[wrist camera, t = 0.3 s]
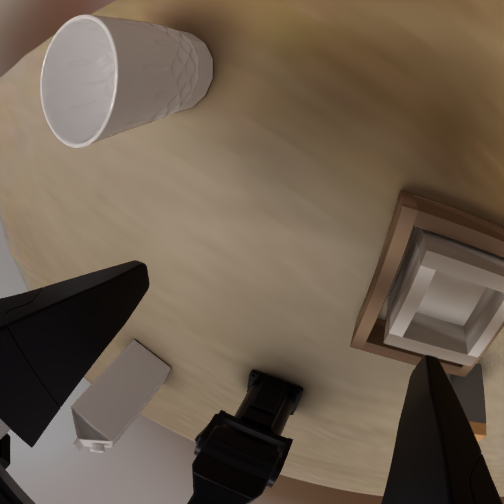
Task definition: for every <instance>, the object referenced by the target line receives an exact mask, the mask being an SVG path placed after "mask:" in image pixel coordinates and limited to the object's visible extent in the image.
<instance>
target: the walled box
mask: <svg viewBox="0 0 504 504" xmlns="http://www.w3.org/2000/svg"><path fill="white" fill-rule="evenodd" d="M413 226H415V227H416V228H415V231H414V234H413V237H412V239H411V242H410V245H409V248H408V251H407V253H406V256H405V259H404V261H403V264H402V266H401V269H400V272H399V274H398V277H397V279H396V281H395V284H394V286H393V289H392V291H391V293H390V296H389V298H388V306H387V317H386V321H383V320H379V319H377V317H378V315H379V313H380V310H381V308H382V306H383V304H384V301H385V299H386V297H387V294H388V292H389V289H390V287H391V285H392V282H393V280H394V277H395V275H396V272H397V270H398V267H399V264H400V262H401V259H402V256H403V254H404V251H405V248H406V245H407V243H408V240H409V237H410V234H411V231H412V228H413ZM503 326H504V227H502V226H499V225H497V224H495V223H492V222H490V221H487V220H485V219H482V218H480V217H477V216H474V215H472V214H469V213H466V212H464V211H461V210H458V209H455V208H453V207H450V206H447V205H444V204H441V203H438V202H435V201H432V200H429V199H426V198H423V197H420V196H417V195H414V194H411V193H408V192H405V191H400V194H399V198H398V202H397V205H396V209H395V212H394V216H393V219H392V222H391V226H390V229H389V232H388V235H387V238H386V241H385V245H384V248H383V251H382V254H381V257H380V259H379V262H378V265H377V268H376V271H375V274H374V277H373V279H372V282H371V285H370V287H369V290H368V293H367V295H366V298H365V300H364V303H363V306H362V308H361V311H360V313H359V316H358V318H357V320H356V324H355V328H354V332H353V337H352V341H351V345H350V347H353V348H357V349H360V350H364V351H367V352H370V353H374V354H377V355H381V356H384V357H388V358H391V359H395V360H399V361H402V362H406V363H410V364H414V365H417V364H418V363H419V361H420V360H421V358H422V357H423V356H424V355H431V356H435V357H437V358H438V359H439V361H440V363H441V365H442V367H443V369H444V371H445V373H449V374H453V375H457V376H462V377H466V375H467V374H468V373H469V372H470V371H471V369H472V368H473V367H474V366H475V364H476V363H477V362H478V361H479V359H480V358H481V357H482V355H483V354H484V353H485V351H486V350H487V349H488V347H489V346H490V345H491V343H492V342H493V341H494V339H495V338H496V336H497V335H498V333H499V332H500V331H501V329H502V328H503Z"/></svg>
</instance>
